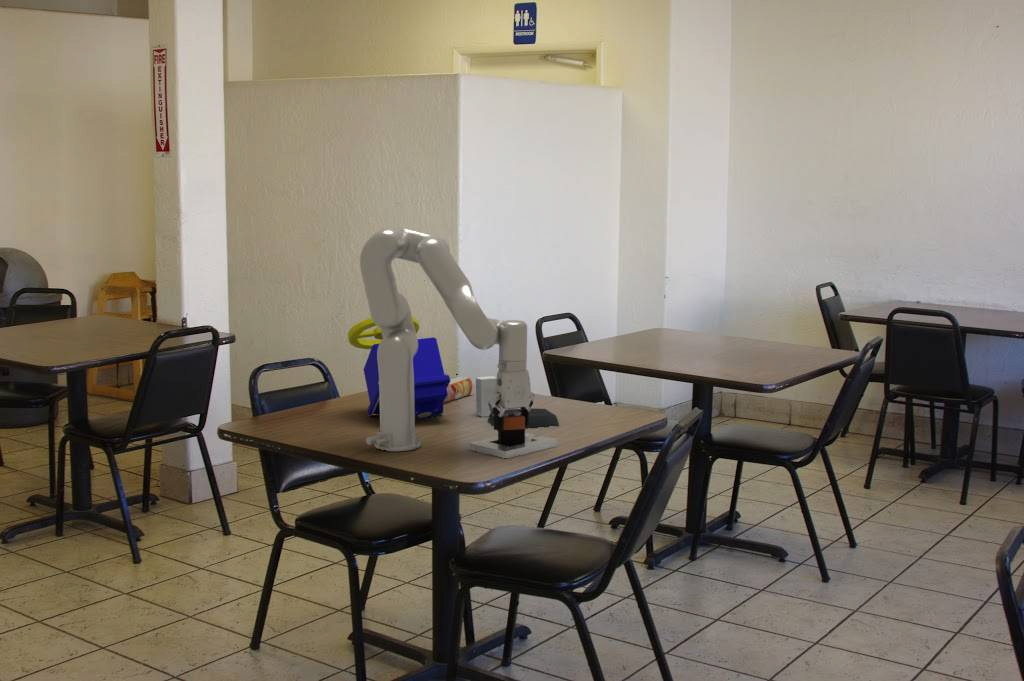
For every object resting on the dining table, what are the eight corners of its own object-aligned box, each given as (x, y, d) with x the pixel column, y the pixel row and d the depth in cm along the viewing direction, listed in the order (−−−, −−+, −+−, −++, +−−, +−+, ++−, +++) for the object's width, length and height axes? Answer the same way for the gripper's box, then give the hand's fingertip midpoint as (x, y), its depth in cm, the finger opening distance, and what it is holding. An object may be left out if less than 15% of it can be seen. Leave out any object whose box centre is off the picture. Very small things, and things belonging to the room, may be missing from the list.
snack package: (439, 406, 363) (439, 386, 362) (422, 404, 366) (422, 384, 365) (473, 396, 381) (473, 376, 380) (456, 394, 384) (456, 375, 383)
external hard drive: (486, 423, 339) (486, 409, 338) (547, 419, 344) (547, 406, 344) (497, 432, 326) (497, 418, 326) (560, 428, 332) (560, 414, 331)
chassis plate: (505, 458, 292) (505, 451, 292) (469, 450, 302) (469, 442, 302) (556, 446, 306) (556, 439, 306) (520, 438, 316) (520, 431, 316)
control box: (459, 398, 330) (438, 307, 340) (371, 410, 321) (352, 316, 331) (441, 427, 352) (422, 341, 362) (358, 439, 343) (341, 350, 354)
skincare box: (493, 413, 351) (493, 375, 350) (498, 415, 348) (498, 377, 346) (475, 414, 349) (475, 377, 347) (481, 417, 345) (480, 379, 343)
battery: (525, 449, 303) (525, 413, 301) (500, 450, 301) (500, 414, 300) (521, 445, 307) (521, 410, 306) (497, 447, 306) (497, 411, 304)
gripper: (499, 371, 292) (498, 434, 295) (544, 364, 305) (542, 425, 307) (479, 367, 298) (478, 430, 300) (524, 361, 310) (523, 421, 312)
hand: (511, 427), depth 303 cm, fingers open, 9 cm apart
